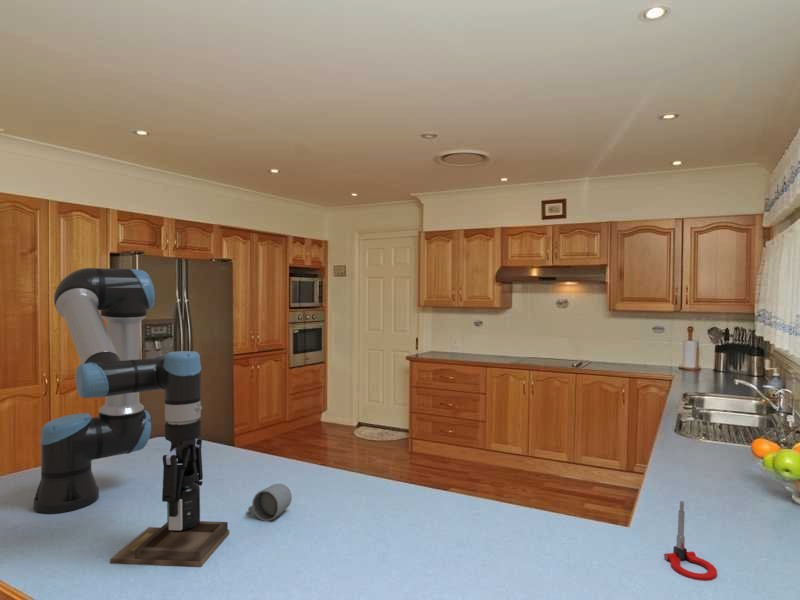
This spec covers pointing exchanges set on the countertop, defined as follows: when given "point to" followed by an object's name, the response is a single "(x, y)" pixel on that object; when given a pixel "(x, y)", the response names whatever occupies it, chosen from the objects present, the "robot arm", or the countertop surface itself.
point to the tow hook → (688, 554)
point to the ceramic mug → (271, 502)
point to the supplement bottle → (188, 503)
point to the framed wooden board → (174, 546)
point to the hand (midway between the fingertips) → (183, 521)
